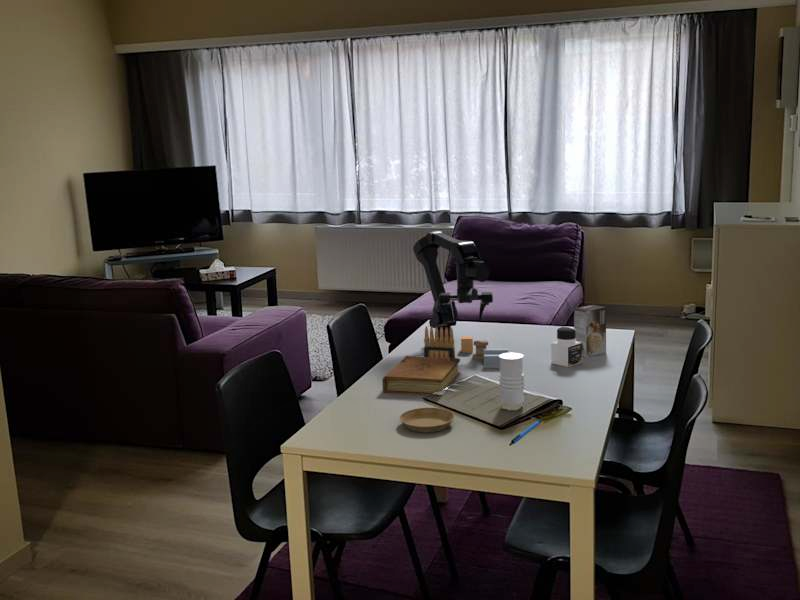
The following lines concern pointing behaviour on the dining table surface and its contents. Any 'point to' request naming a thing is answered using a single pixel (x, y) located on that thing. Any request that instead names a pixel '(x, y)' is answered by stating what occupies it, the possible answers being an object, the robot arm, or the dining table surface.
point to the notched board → (493, 357)
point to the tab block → (466, 343)
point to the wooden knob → (479, 349)
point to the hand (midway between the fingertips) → (466, 321)
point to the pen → (524, 432)
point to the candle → (511, 378)
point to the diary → (421, 375)
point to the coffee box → (591, 329)
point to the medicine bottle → (566, 348)
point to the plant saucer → (426, 419)
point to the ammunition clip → (445, 346)
